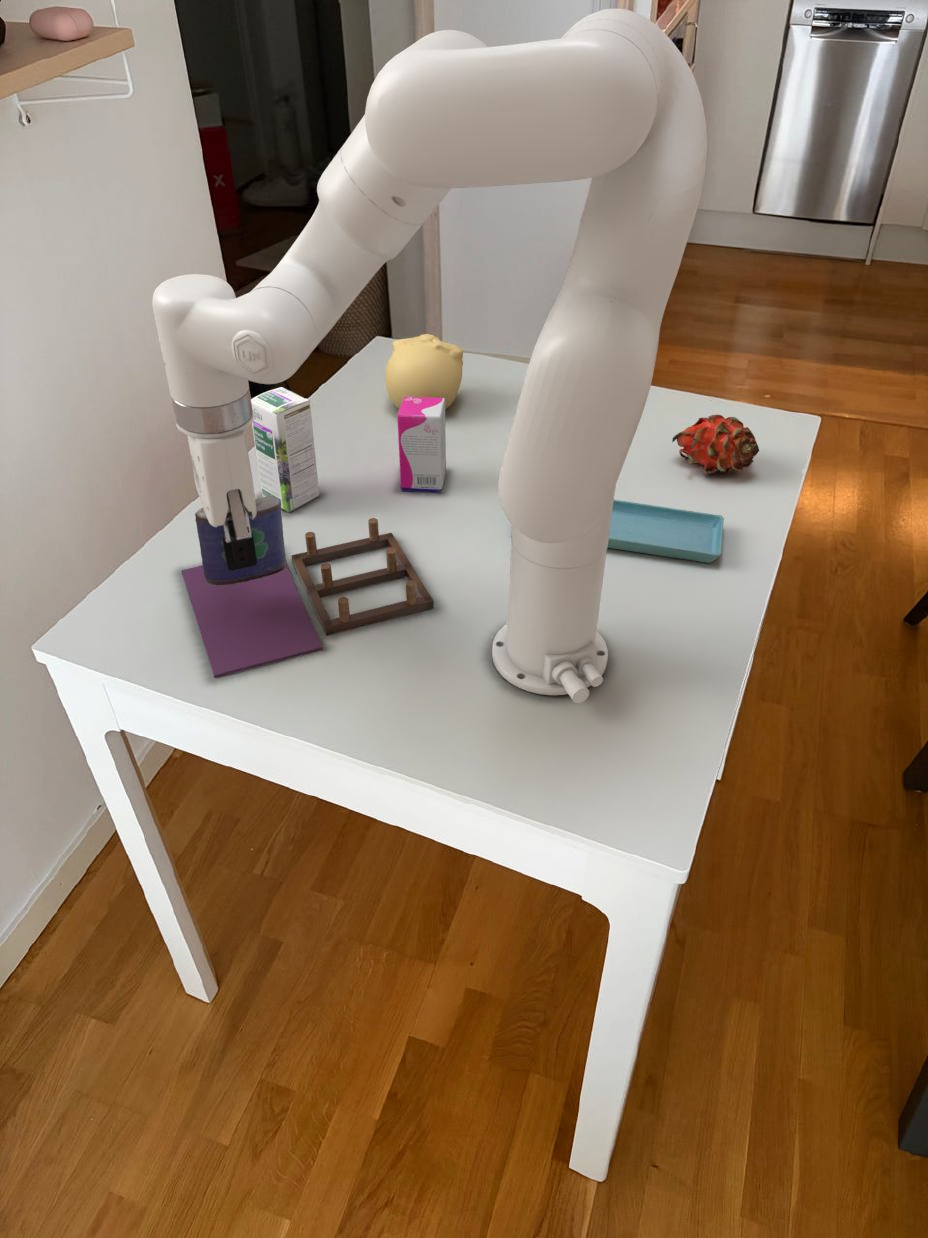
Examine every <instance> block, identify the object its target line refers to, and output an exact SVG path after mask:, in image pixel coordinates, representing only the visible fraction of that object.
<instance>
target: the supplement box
mask: <svg viewBox="0 0 928 1238" xmlns="http://www.w3.org/2000/svg"><path fill="white" fill-rule="evenodd" d="M396 417H397V419H396V421H397V439H398V442H397V443H398V459H399V475H400V476H399V479H400V490H401V491H402V492H418V493H435V494H436V493H437V494H442V492H443V488H444V485H445V479H446V476H447V447H446V446H447V443H446V439H447V437H446V409H445V398H427V397H404V398H403V401H402V404H401V407H400V409H399V410H398V412H397V416H396Z"/></svg>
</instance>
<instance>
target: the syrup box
mask: <svg viewBox="0 0 928 1238" xmlns="http://www.w3.org/2000/svg"><path fill="white" fill-rule="evenodd" d="M251 404H252V411H253V421H252V423H251V426H252V434H253V440H254V447H255V455H256V461H257V468H258V477H259V483H260V491H261V498H263V497H267V496H273V497H275V498H277V499H279V500H280V503H281V504H280V505H281V510H283V511H285V512H287V513H290V512H292V511H294V510H296V509H298V508H299V507H301V506H304V505H306V504H307V503H309V502H311V501H312V500H314V499H316V498H318V497H319V496H320V488H319V478H318V469H317V459H316V448H315V438H314V429H313V427H314V426H313V418H312V409H311V400H310V399H309V398H304V397H303V396H301V395H299V394H297V393H295V392H294V391H291V390H289V389H287V388H285V387H283V386H280V387H277V388H273V389H270V390H267V391H265V392H262V393H260V394H258V395H256V396H254V397H252V398H251Z"/></svg>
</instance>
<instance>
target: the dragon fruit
mask: <svg viewBox="0 0 928 1238" xmlns="http://www.w3.org/2000/svg"><path fill="white" fill-rule="evenodd" d="M671 440H672V443H674V442H675V441H676V442H677V446H678V447H680V449H679V450H678V454H679V455H680V457H681V458H683V459H684V461H685V462H687V463H688V465H691V464H698V465H700V466H703V474H705V475H710V474H714V473H716V472H717V471H719V472H720V474H729V473H732V471H733V470H734V471H737V472H738V471H739V472H741V471H743V470H744V468H749V467H750V466H752V465H753V463H754V460H753V459H754V457H755V456H757V454H758V453H759V452H760V447H759V444H758V443H757V442H758V441H757V440H756V437H755V435H754V433H753V432H752V430H751V429H750V428H749V427H748V426H746V427H744V423H743V422H742V421H741V420H740V419H739V418H737V417H736V416H728V417H724V416H723V415H721V414H711V415H709V416H708V417H699V418H698V420H697V421H696V422H695V423H694V424H692V425H690V426H688V427H686V428H685V429H684V430H681V431H680V432H678V433H677V434H675V435H674V436H673V437H672V439H671Z"/></svg>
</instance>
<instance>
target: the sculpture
mask: <svg viewBox="0 0 928 1238" xmlns="http://www.w3.org/2000/svg"><path fill="white" fill-rule="evenodd" d="M391 346H392V354H391V356H390V357H389V360H388V361H387V364H386V368H385V373H384V374H385V375H384V382H385V388H386V393H387V394H388V397H389V398H390V400H391V402H392V403H393V404H394V406H395V407H396V408H398V409H399V410H400V407H401V404H402V401H403V398H404V397H427V398H445V410H446V409H448V408H449V407H450V406H451V405H452V404H453V403H454V402H455V400H456V398H457V396H458V393H459V390H460V387H461V383H462V380H463V366H464V361H463V358H464V350H463V349H462V348H461V347H460V346H458V345H456V344H453V343H449V342H445V341H442V340H440V338H438V336H435V335H434V334H430V333H422V334H420V335H419V336H414V337H406V338H400V339H396V340H393V341H392V342H391Z"/></svg>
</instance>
